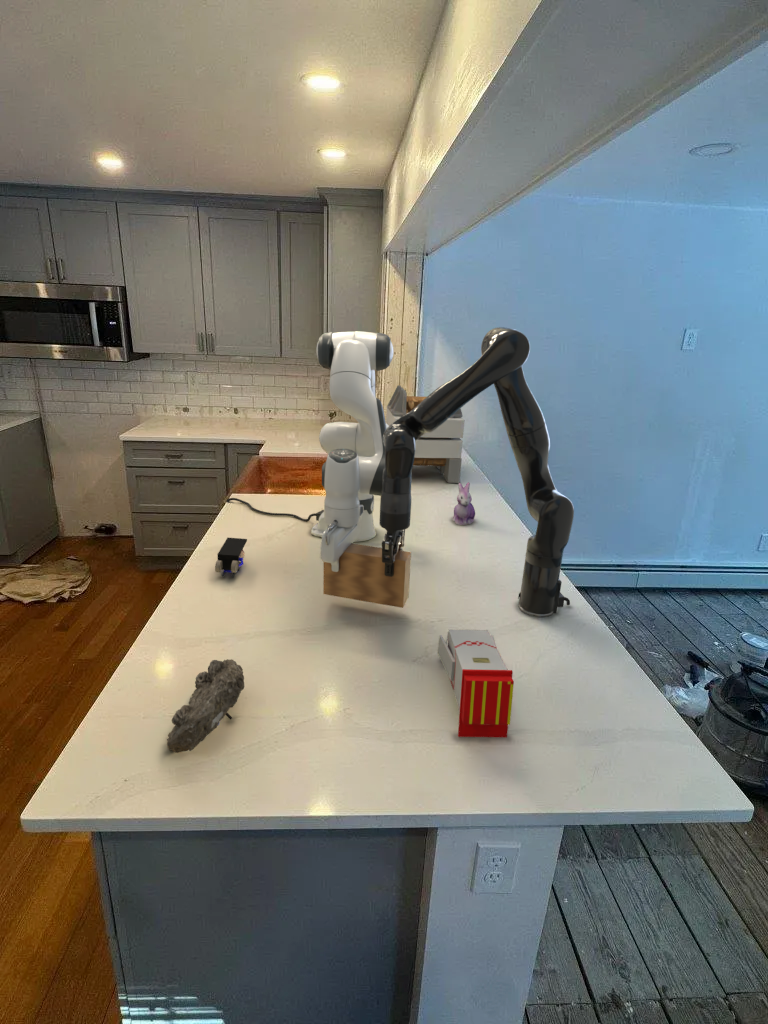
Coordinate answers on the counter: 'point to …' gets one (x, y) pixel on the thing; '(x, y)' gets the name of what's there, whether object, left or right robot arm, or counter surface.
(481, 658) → the toy
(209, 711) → the fossil
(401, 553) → the box
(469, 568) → the counter surface
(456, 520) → the figurine
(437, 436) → the transformer
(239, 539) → the figurine character
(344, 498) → the left robot arm
